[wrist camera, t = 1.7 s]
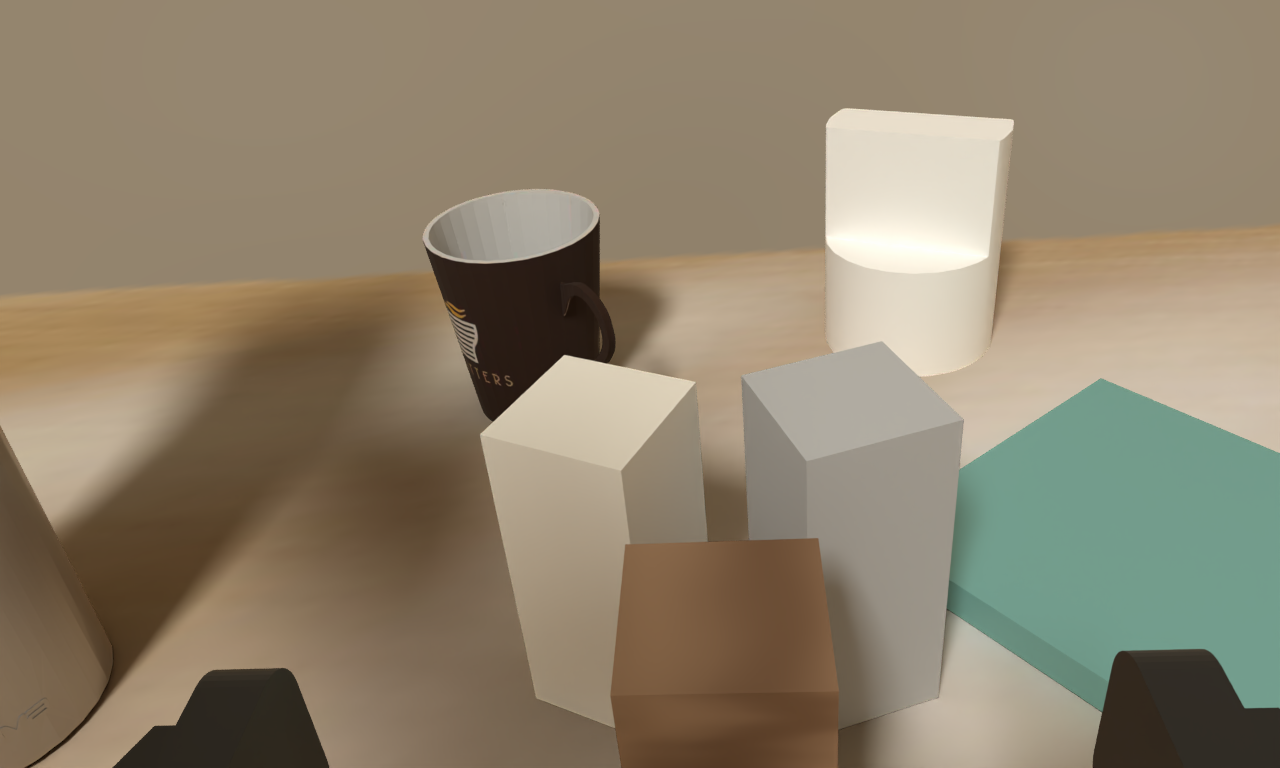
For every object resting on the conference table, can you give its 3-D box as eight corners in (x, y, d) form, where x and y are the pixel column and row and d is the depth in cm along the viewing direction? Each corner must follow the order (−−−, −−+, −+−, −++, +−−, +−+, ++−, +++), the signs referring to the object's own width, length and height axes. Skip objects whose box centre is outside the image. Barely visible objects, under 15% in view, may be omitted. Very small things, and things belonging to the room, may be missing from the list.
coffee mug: (457, 368, 59) (422, 204, 54) (606, 343, 60) (586, 178, 55) (466, 491, 50) (423, 306, 44) (643, 459, 50) (623, 273, 45)
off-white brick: (536, 698, 39) (479, 434, 32) (602, 608, 42) (564, 355, 36) (655, 743, 36) (620, 471, 30) (715, 644, 40) (695, 382, 34)
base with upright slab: (1006, 307, 60) (1029, 100, 53) (971, 389, 53) (992, 164, 47) (852, 286, 63) (857, 90, 57) (802, 359, 57) (800, 148, 50)
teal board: (867, 556, 43) (869, 528, 43) (1096, 404, 51) (1100, 378, 50) (1258, 816, 32) (1270, 785, 31) (1478, 572, 40) (1492, 542, 39)
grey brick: (808, 739, 36) (806, 461, 30) (753, 639, 40) (741, 375, 34) (938, 697, 37) (963, 419, 31) (871, 603, 41) (882, 341, 35)
